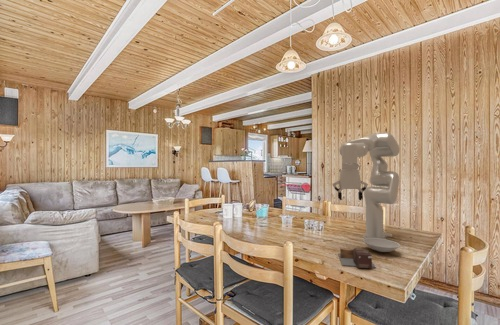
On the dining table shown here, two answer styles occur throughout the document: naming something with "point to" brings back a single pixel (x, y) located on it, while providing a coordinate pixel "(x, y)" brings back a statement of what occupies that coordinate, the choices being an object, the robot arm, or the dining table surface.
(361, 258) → the box
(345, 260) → the rubber mat
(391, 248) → the dish
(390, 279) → the dining table surface
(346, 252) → the walnut rail
